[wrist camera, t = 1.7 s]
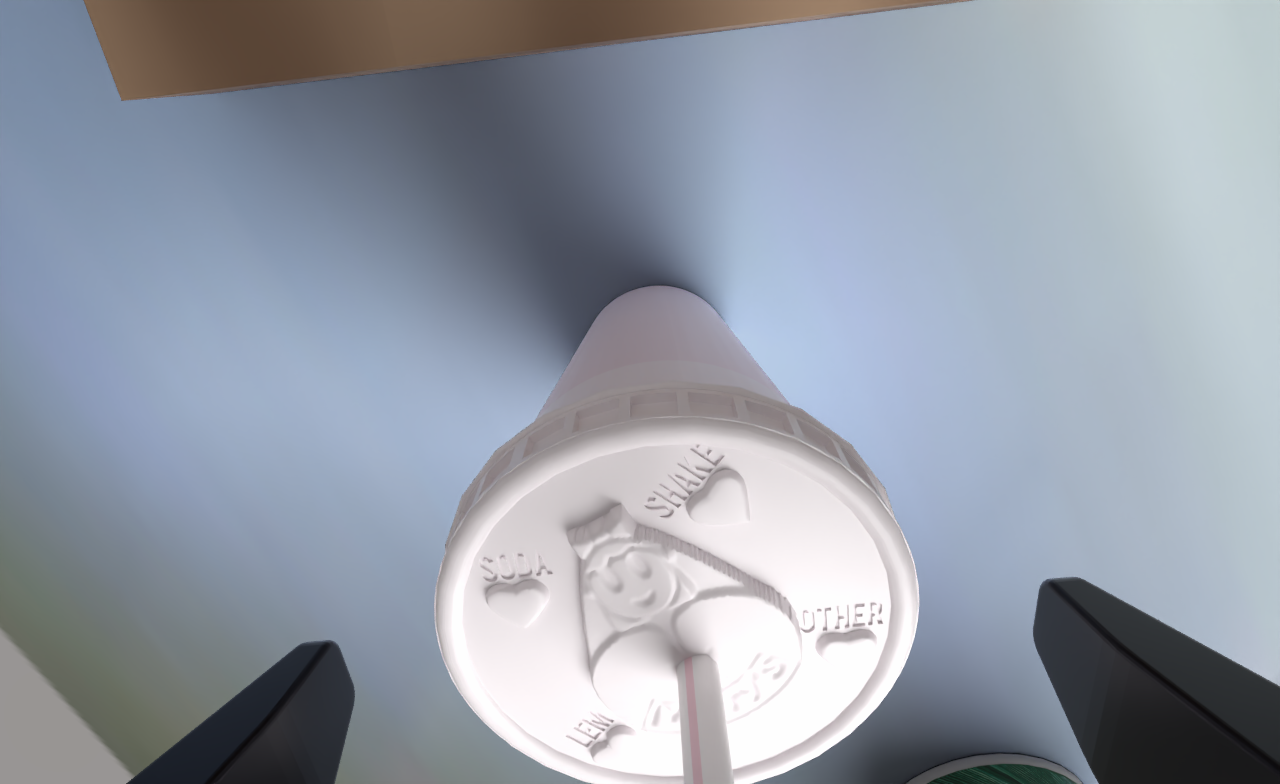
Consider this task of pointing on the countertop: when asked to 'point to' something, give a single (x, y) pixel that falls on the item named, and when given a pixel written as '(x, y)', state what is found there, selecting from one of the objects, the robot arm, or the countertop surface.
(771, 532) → the smoothie
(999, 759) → the canned tomato
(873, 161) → the countertop surface
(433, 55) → the hole board
